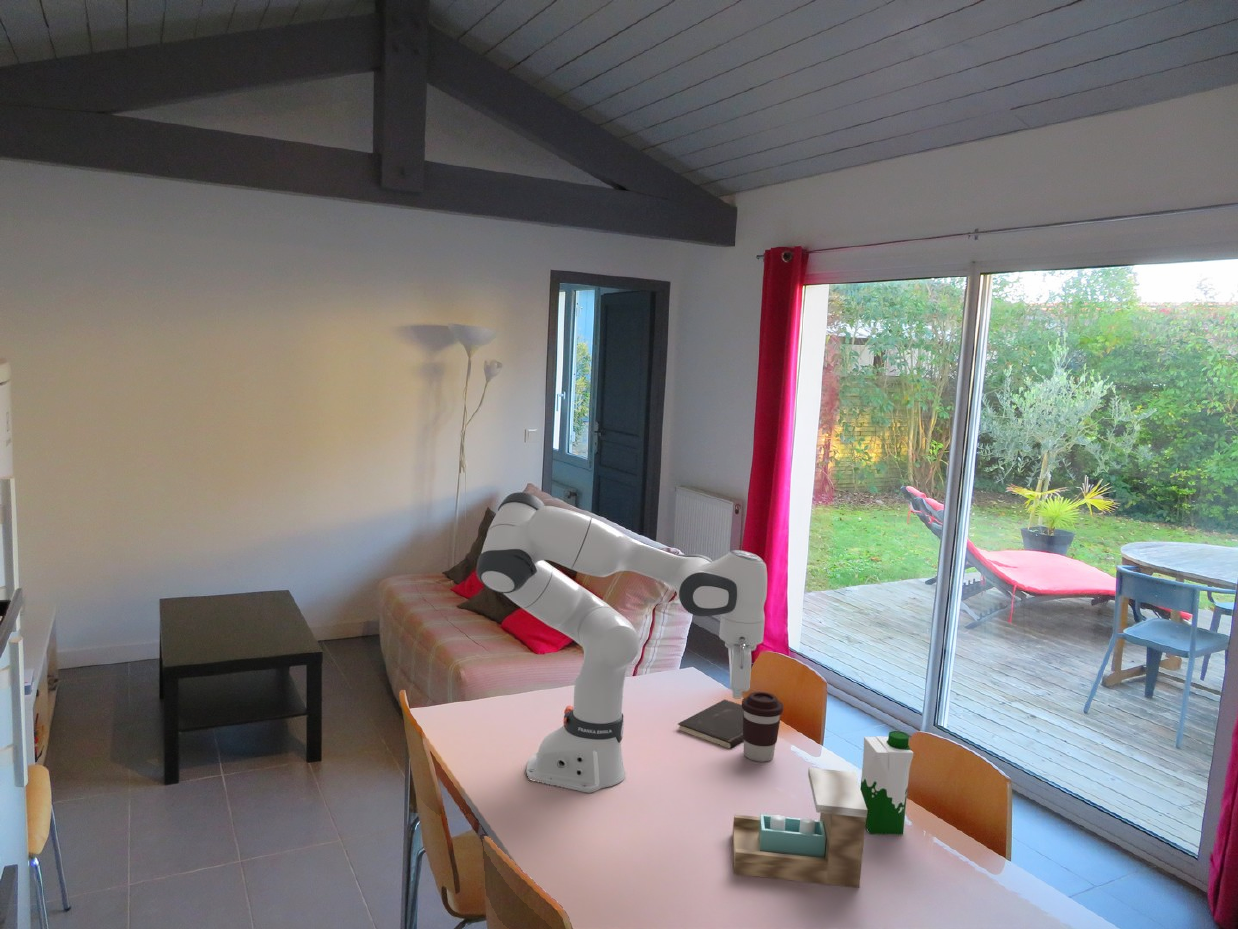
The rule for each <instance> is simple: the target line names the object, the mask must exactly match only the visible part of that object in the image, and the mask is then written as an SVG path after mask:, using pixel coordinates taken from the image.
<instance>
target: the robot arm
mask: <svg viewBox="0 0 1238 929" xmlns="http://www.w3.org/2000/svg"><path fill="white" fill-rule="evenodd" d="M547 561H551V562H553V563H555V564H559V565H560V566H563V567H564V568H565V567H566V568H567V569H570V570H571V571H575V572H577V573H581V574H584V575H588V576H592V577H597V578H606V577H609V576H611V575H613V574H615V573H619V572H623V571H624V572H627V571H628V572H634V573H637V574H639V575H643V576H644V577H645V576H646V577H649V578H650V579H653V580H657V581H660V582H663V583H665V584H667V585H669V586H670V587H671V588H672V589H673V590H674V591H675V592H676V595H677V597H678V599H679V602H680V604H681V606H682V607H683V608H684V610H685V611H686V612H688V614H690V615H693V616H695V617H711V616H720V623H719V634H718V636H719V639H720V640H721V641H723V642H724V646H725V647H726V648H727V650H728V660H729V661H728V662H729V681H730V690H731V691H732V698H733V699H736V700H741V699H742V696H743V692H748V691H749V689H750V688H751V687H750V686H751V685H750V684H751V673H752V672H751V670H752V652H753V651H755V650H756V649H757V646H758V645H760V644H762V643H763V642H764V631H765V630H764V629H765V622H766V621H765V619H766V616H765V611H764V609H765V608H764V607H765V604H766V603H765V602H766V600H767V593H768V590H767V589H768V571H767V564H766V563H765V562H764V560H763V559H762V558H761V557H760V556H758V555H757V554H755V553H752V552H748V551H745V550H740V549H734V550H730V551H729V552H728V553H727V554H725V555H723V556H722V557H719V558H718V559H715V560H714V561H713V560H712V559H711V558H710V557H708V556H707V555H704V554H699V553H690V554H689V553H687V554H685V553H683V554H682V553H681V554H677V553H674V552H671V551H667V550H665V549H661V548H659V547H655V546H653V545H650V544H647V543H644V542H642V541H639V540H636V539H635V538H632V537H631V536H629V535H628V534H626V533H624V532H622V531H620V530H619V529H617V528H615V527H613V526H611V525H609V524H608V523H606V522H603V521H601V520H599V519H598V518H595V517H591V516H589V515H587V514H584V513H580V512H578V511H574V510H570V509H566V508H562V507H557V506H552V505H546V504H545V503H544V502H543V501H542V500H541V499H540V498H538V497H537V496H535V495H534V494H531V493H529V492H528V493H527V492H518V491H517V492H514V493H513V492H512V493H510V494H508V495H507V496H506V497H505V498H504V499H503V500H502V502H501V503H500V504H499V506H498V508H497V512H496V514H495V516H494V518H493V520H492V521H491V523H490V525H489V527H488V530H487V532H486V538H485V540H484V542H483V545H482V549H481V553H480V555H479V556H478V559H477V564H476V577H477V578H478V581H479V582H481V584H483V586H484V587H486V588H487V589H489V590H490V591H492V592H495V593H499V594H503V595H504V596H505V597H507V599H509V600H510V601H512V603H514V604H516V605H517V606H518V607H520V608H521V609H522V610H524V611H526V612H527V613H528V614H530V615H532V616H533V617H535V618H536V619H537V620H539V621H541V622H542V623H544V624H545V625H546V626H548V627H550V628H552V629H555V630H557V631H558V632H560V633H562V634H564V635H565V636H566V637H568V638H569V639H572V640H573V641H574V642H575V643H577V644H578V645H579V646H581V647H582V650H583V661H582V665H581V668H580V672H579V673H578V675H576V677H575V679H574V687H573V688H574V689H573V706H572V705H567V706H566V707H565V709H564V715H563V725H562V726H561V727H559V728H557V729H556V730H554V731H553V732H551V733H548V734H547V735H546V736H545V737H544V738H543V740H541V743H540V745H539V748H538V751H537V752H536V753H535V754H534V755H532V756H531V757H530V758H529V759H528V761H527V765H526V769H525V774H526V773H527V776H528V778H529V779H532V780H535V781H539V782H542V783H541V784H544V783H546V784H545V785H549V784H550V785H549V786H554V785H557V786H556V787H559V786H561V787H560V788H563V787H564V789H570V790H575V791H579V792H583V793H589V794H590V793H594V792H596V791H598V790H600V789H604V788H607V787H608V788H609V787H612V786H615V785H617V784H620V783H621V782H622V781H623V780H624V779H625V778H626V770H625V769H626V768H625V765H624V759H623V752H622V751H623V750H622V748H623V747H622V741H623V738H624V725H625V723H624V722H625V721H624V713H623V700H624V686H625V680H626V676H627V672H628V670H629V667H630V664H631V663H632V662H634V660H635V658H637V655H638V654H639V651H640V650H639V649H640V646H641V644H640V642H641V641H640V637H639V635H638V633H637V630H636V629H635V627H634V626H633V624H632V623H631V622H630V620H629V619H627V617H625V616H624V615H622V614H621V613H620V612H618V611H617V610H616V609H614V608H613V607H612V606H611V605H609V604H608V603H607V602H606V601H604V600H603V599H602V598H600V597H599V596H596V595H595V594H594V593H593V592H591V591H589V590H588V589H586V588H585V587H583V585H580V584H578V583H577V582H576V581H574V580H573V579H572V578H570V577H569V576H568V575H566V574H565V573H563V572H562V571H560V570H558V568H556V567H554V566H553V565H551V564H550V563H549V562H547ZM527 776H526V777H527ZM528 778H527V779H528ZM529 779H528V780H529ZM539 782H538V783H539Z"/></svg>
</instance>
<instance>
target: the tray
mask: <svg viewBox="0 0 1238 929" xmlns="http://www.w3.org/2000/svg"><path fill="white" fill-rule="evenodd" d="M759 817H760V824H759V846H760V851H761V852H771V853H780V854H789V855H798V856H807V857H816V858H824V853H825V842H826V835H825V830H824V826H823V822H822V821H820V819H812V818H810V817H802V818H800V817H788V816H783V815H781V814H771V815H770V814H760V815H759Z"/></svg>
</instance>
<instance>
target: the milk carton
mask: <svg viewBox="0 0 1238 929" xmlns="http://www.w3.org/2000/svg"><path fill="white" fill-rule="evenodd" d="M909 739H910V736H909V735H908V733H906V732H903V731H898V730H892V731H889V732H888V736H880V735H879V736H878V735H876V736H863V754H862V768H861V776H860V778H861V779H860V789H861V792H862V795H863V798H864V801H865V804H866V807H867V818H866V824H865V830H867V832H868V833H869V834H870V835H904V830H905V829H904V828H905V827H904V826H905V818H906V806H907V798H908V789H909V788H908V786H909V777H910V768H911V765H912V761H913V757H914V751H912V748H910V744H909Z"/></svg>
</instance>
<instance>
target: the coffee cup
mask: <svg viewBox="0 0 1238 929" xmlns="http://www.w3.org/2000/svg"><path fill="white" fill-rule="evenodd" d="M741 705H742V709H743V710H744V714H743V739H744V742H743V755H744V756H745V757H746V758H747V759H749V760H751V761H755V762H763V763H764V762H769V761H771V760H772V759H773V758H774V756H775V750H776V745H777V741H778V736H779V732H780V731H779V730H780V722H781V719H780V717H781V715H782V714H783V712H784V704H783V703H782V702H781V701H780V700H779V698H778V697H777V696H776V695H775V694H773V693H771V692H766V691H754V692H751V693H749V695H748V696H746V697H745V696H744V698H742V700H741Z"/></svg>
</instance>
